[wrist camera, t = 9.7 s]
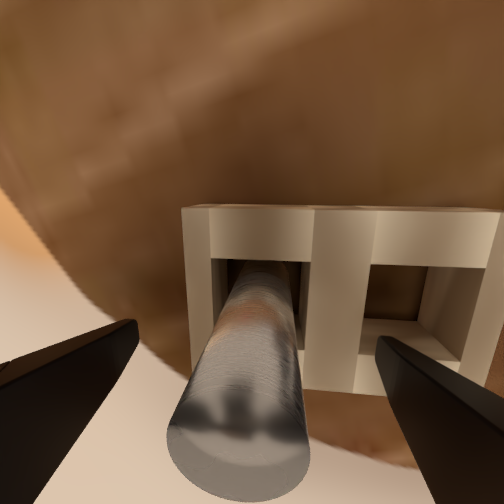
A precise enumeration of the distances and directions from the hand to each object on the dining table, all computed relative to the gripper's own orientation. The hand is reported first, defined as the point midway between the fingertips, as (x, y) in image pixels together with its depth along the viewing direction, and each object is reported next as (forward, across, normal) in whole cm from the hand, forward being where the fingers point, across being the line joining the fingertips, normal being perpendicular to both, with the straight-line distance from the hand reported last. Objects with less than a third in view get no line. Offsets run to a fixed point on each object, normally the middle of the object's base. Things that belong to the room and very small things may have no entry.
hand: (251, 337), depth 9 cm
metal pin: (+6, 0, 0) cm, 6 cm away
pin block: (+6, -4, 0) cm, 7 cm away
